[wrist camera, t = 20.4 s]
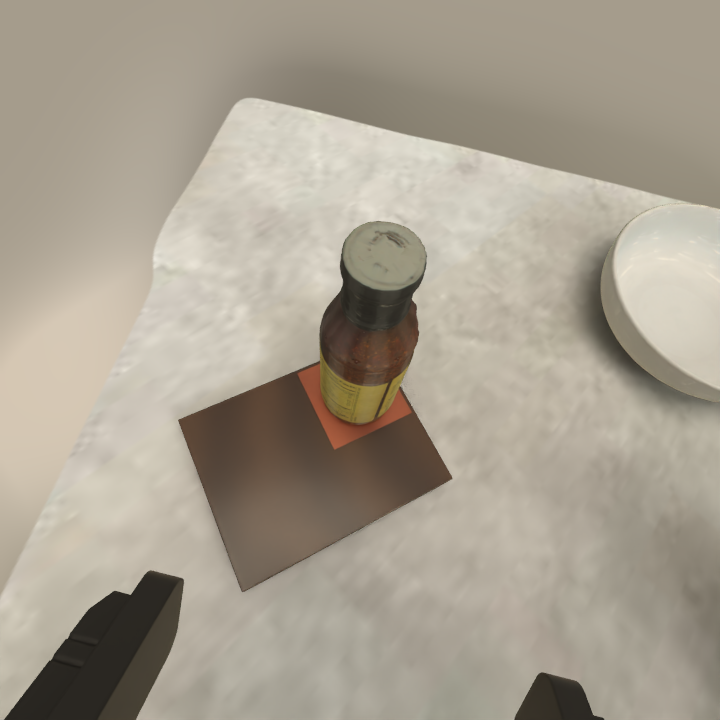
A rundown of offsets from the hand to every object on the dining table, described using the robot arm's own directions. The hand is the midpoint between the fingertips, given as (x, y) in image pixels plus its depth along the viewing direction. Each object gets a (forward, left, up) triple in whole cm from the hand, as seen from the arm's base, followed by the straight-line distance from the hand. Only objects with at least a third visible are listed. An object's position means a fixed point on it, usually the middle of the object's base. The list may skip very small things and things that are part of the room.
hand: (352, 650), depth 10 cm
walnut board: (-4, -10, -26) cm, 28 cm away
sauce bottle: (-9, -12, -25) cm, 29 cm away
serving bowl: (-43, -6, -27) cm, 51 cm away
